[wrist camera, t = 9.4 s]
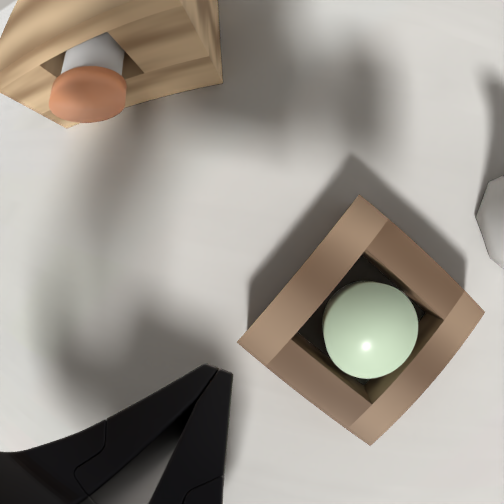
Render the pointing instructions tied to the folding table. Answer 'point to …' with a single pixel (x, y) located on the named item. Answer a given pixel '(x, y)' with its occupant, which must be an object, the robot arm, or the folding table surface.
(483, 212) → the flask
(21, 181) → the folding table surface
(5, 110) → the folding table surface
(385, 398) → the button housing
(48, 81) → the wooden box
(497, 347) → the folding table surface
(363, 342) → the table button
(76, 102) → the plunger
